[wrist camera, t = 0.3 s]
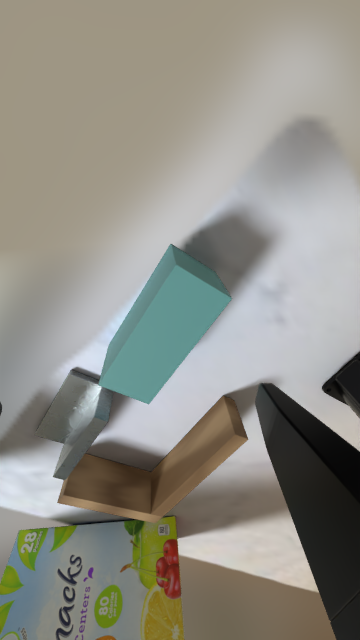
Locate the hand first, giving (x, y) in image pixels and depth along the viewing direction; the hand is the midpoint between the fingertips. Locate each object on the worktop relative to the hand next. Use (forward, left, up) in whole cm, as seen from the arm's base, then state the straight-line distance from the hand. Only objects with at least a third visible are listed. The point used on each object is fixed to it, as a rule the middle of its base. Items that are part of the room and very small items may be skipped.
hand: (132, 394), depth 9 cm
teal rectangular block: (-2, +2, -12) cm, 13 cm away
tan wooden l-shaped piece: (-9, +15, -12) cm, 21 cm away
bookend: (-1, +15, -12) cm, 19 cm away
